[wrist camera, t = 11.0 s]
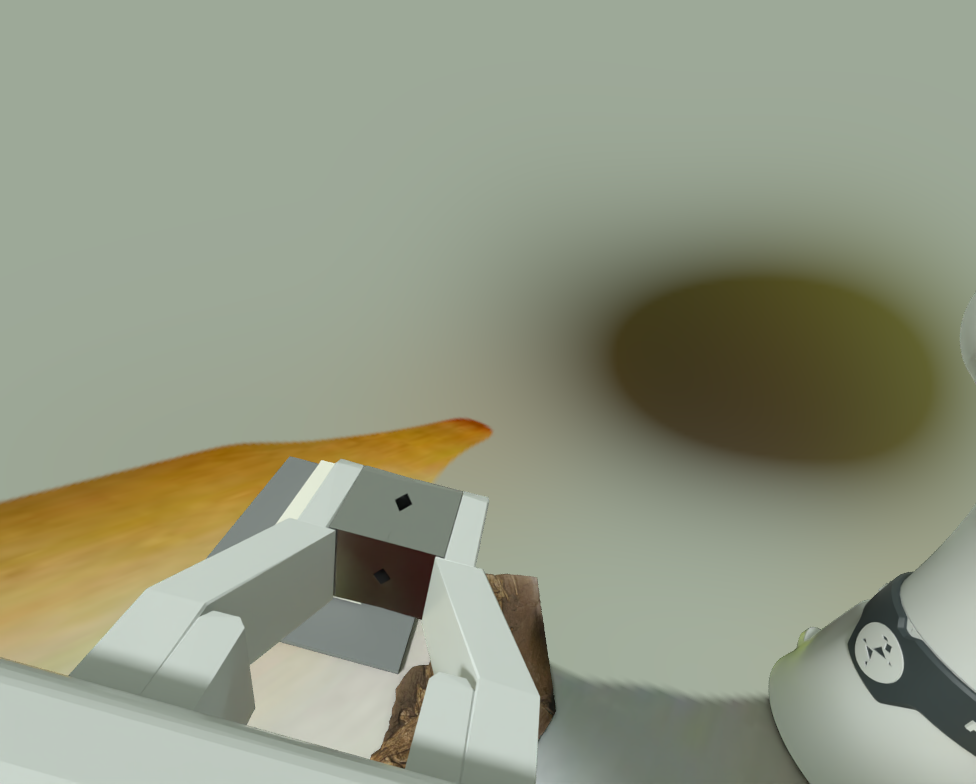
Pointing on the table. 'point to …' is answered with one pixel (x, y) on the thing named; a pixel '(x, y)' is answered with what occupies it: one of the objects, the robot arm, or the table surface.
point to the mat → (339, 622)
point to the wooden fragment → (528, 631)
